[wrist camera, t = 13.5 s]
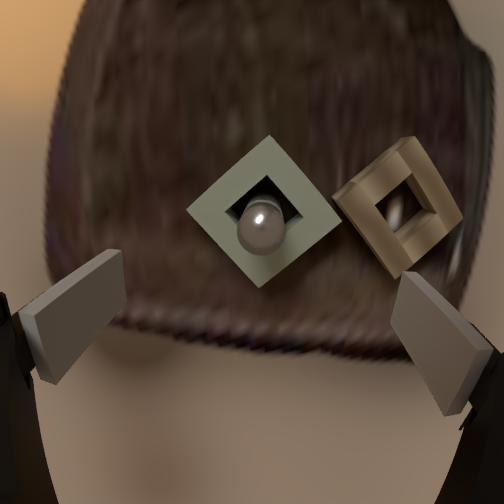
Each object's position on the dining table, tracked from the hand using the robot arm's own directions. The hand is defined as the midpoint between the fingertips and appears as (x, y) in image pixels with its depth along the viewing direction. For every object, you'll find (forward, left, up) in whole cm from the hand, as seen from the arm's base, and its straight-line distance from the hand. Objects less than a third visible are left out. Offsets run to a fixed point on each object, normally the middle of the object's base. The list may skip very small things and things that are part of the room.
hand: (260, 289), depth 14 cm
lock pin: (0, 0, -24) cm, 24 cm away
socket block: (0, 0, -24) cm, 24 cm away
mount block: (-13, +10, -24) cm, 29 cm away
